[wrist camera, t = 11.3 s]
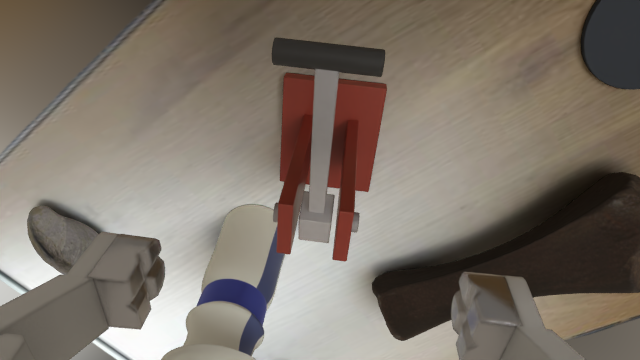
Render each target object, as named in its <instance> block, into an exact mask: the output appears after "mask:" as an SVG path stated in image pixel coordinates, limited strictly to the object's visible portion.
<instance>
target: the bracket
mask: <svg viewBox="0 0 640 360" xmlns="http://www.w3.org/2000/svg"><path fill="white" fill-rule="evenodd" d="M314 79H315V76H312V75H303V74H294V73H286V74H285V76H284V84H283V110H282V136H281V162H280V181H284V186H283V189H282V193H281V196H280V200H279V203H276V204H275V207H274V212H273V222H277V250H276V252H277V253H283V254H290V253H291V249H292V244H293V239H294V235H295V230H296V226H297V221H298V216H299V212H300V207H301V203H302V198H303V192H304V189H305V184H308V185H310V164H311V143H312V122H313V100H314ZM386 91H387V86H386V84H381V83H372V82H364V81H355V80H346V79H339V80H338V89H337V99H336V108H335V118H334V128H333V137H332V147H331V157H330V166H329V176H328V185H327V187H333V188H340V190H339V200H338V209H337V219H336V229H335V239H334V249H333V260H339V261H346V260H347V255H348V249H349V242H350V236H351V232H357V231H358V225H359V213H356V212H354V207H355V190H357V191H365V192H368V191H369V186H370V180H371V175H372V169H373V164H374V158H375V153H376V147H377V141H378V136H379V130H380V125H381V119H382V114H383V108H384V102H385V97H386Z"/></svg>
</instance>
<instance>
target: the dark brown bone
mask: <svg viewBox="0 0 640 360" xmlns="http://www.w3.org/2000/svg"><path fill="white" fill-rule="evenodd" d="M463 272H473V273H483V274H493V275H501V276H503V275H504V276H514V277H523V278H524V279H525V280H526V282H527V285H528V287H529V290H530V292H531V295H532V297H538V296H547V295H559V294H574V293H639V292H640V178H639V177H638V176H636V175H633V174H629V173H623V172H618V173H612V174H609V175H607V176H606V177H604V178H602V179H601V180H599V181H598V182H597V183H595V184H594V185H593V186H592V187H590V188H589V189H588V190H586V191H585V192H584V193H583V194H581V195H580V196H579V197H578V198H577V199H575V200H574V201H573V202H571V203H570V204H569V205H567V206H566V207H565V208H563V209H562V210H561V211H559V212H558V213H557V214H556V215H554V216H553V217H551V218H549V219H548V220H546V221H545V222H544V223H542V224H540V225H539V226H537V227H535V228H534V229H532V230H530V231H529V232H527V233H525V234H523V235H521V236H519V237H517V238H515V239H513V240H511V241H509V242H507V243H505V244H503V245H500V246H498V247H496V248H493V249H491V250H488V251H486V252H483V253H481V254H478V255H474V256H471V257H468V258H465V259H462V260H458V261H454V262H450V263H445V264H442V265H437V266H431V267H424V268H417V269H409V270H398V271H391V272H386V273H384V274H381V275H379V276H378V277H376V278H375V280H374V282H373V283H372V290H373V293H374V294H375V296H376V297H377V299H378V303H379V307H380V309H381V312H382V314H383V316H384V319H385V321H386V325H387V327H388V329H389V331H390V332H391V334H392V335H393V336H394V338H396V339H398V340H401V341H405V340H407V339H409V338H412V337H414V336H416V335H419V334H421V333H423V332H425V331H427V330H429V329H431V328H433V327H436V326H438V325H440V324H442V323H445V322H447V321H449V320H452V319H451V308H452V301H453V298H454V294H455V293H456V292H458V291H459V290H460V285H459V280H460V277H461V275H462V274H463Z"/></svg>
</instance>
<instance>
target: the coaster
mask: <svg viewBox="0 0 640 360" xmlns="http://www.w3.org/2000/svg"><path fill="white" fill-rule="evenodd" d="M581 50H582V56H583V59H584V62H585V64H586V66H587V67H588V69H589V70H590V72H591V73H592V74H593V75H594V76H595V77H597V78H598V79H599V80H601V81H602V82H604V83H605V84H608V85H610V86H613V87H616V88H621V89H640V0H597V1H596V2H595V4H594V5H593V7H592V9H591V11H590V12H589V14H588V17H587V19H586V21H585V24H584V28H583V32H582V37H581Z"/></svg>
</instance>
